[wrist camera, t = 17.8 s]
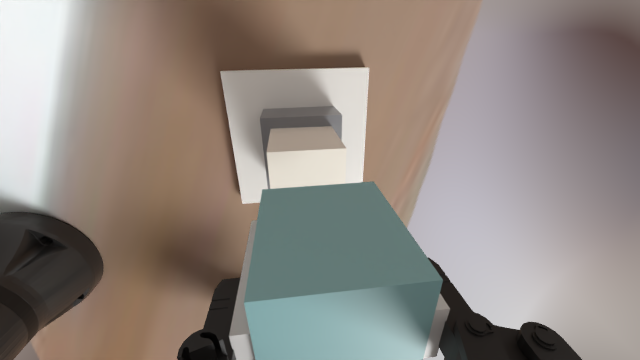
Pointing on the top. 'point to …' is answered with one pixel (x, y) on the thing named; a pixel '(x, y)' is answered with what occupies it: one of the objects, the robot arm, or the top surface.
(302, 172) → the cream block
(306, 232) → the teal block
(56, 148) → the top surface
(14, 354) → the robot arm
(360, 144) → the tower base
